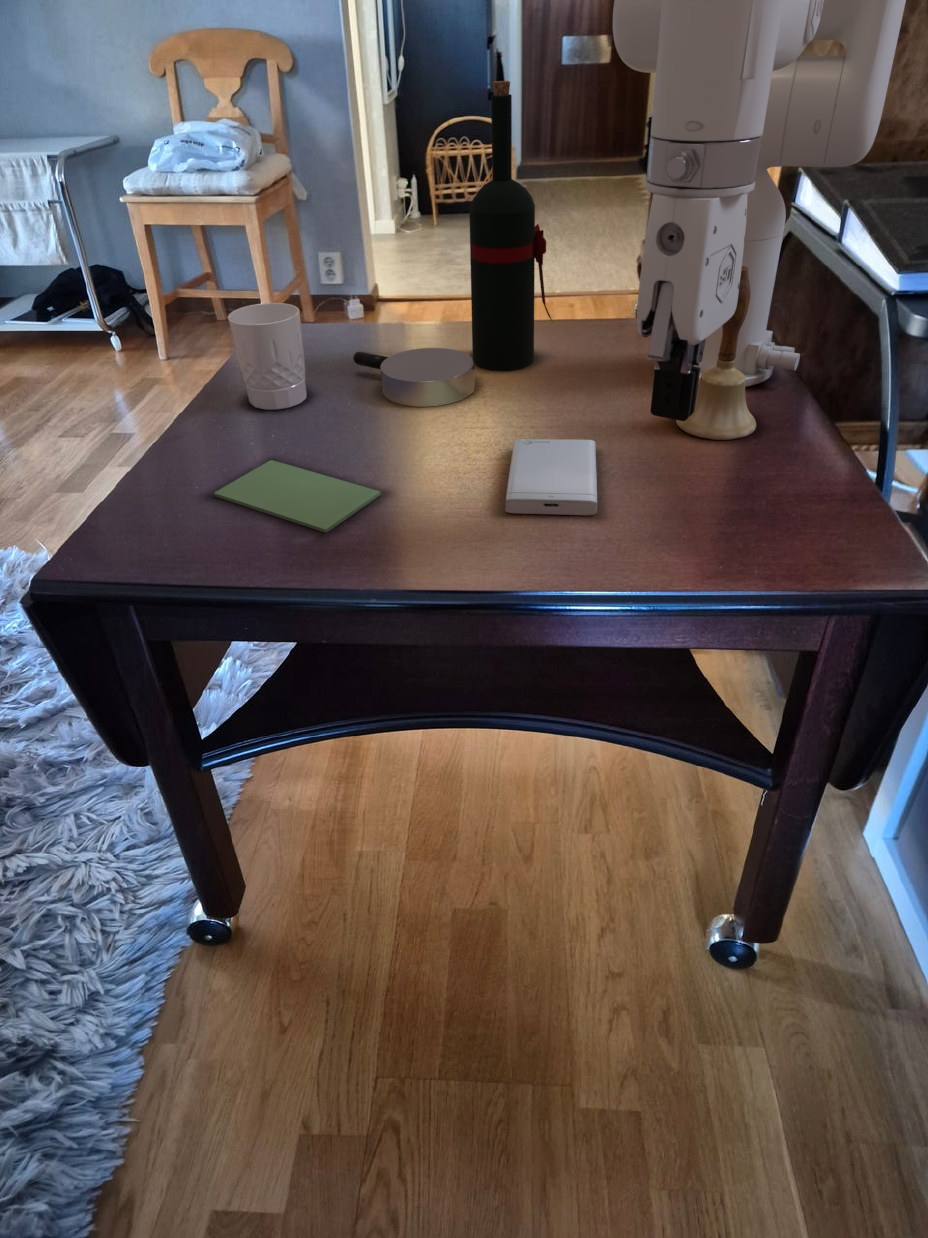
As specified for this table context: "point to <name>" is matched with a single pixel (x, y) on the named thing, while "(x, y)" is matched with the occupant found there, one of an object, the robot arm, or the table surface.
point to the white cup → (270, 354)
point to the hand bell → (724, 384)
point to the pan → (423, 375)
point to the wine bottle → (503, 255)
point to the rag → (298, 495)
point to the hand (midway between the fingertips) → (671, 414)
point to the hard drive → (552, 477)
